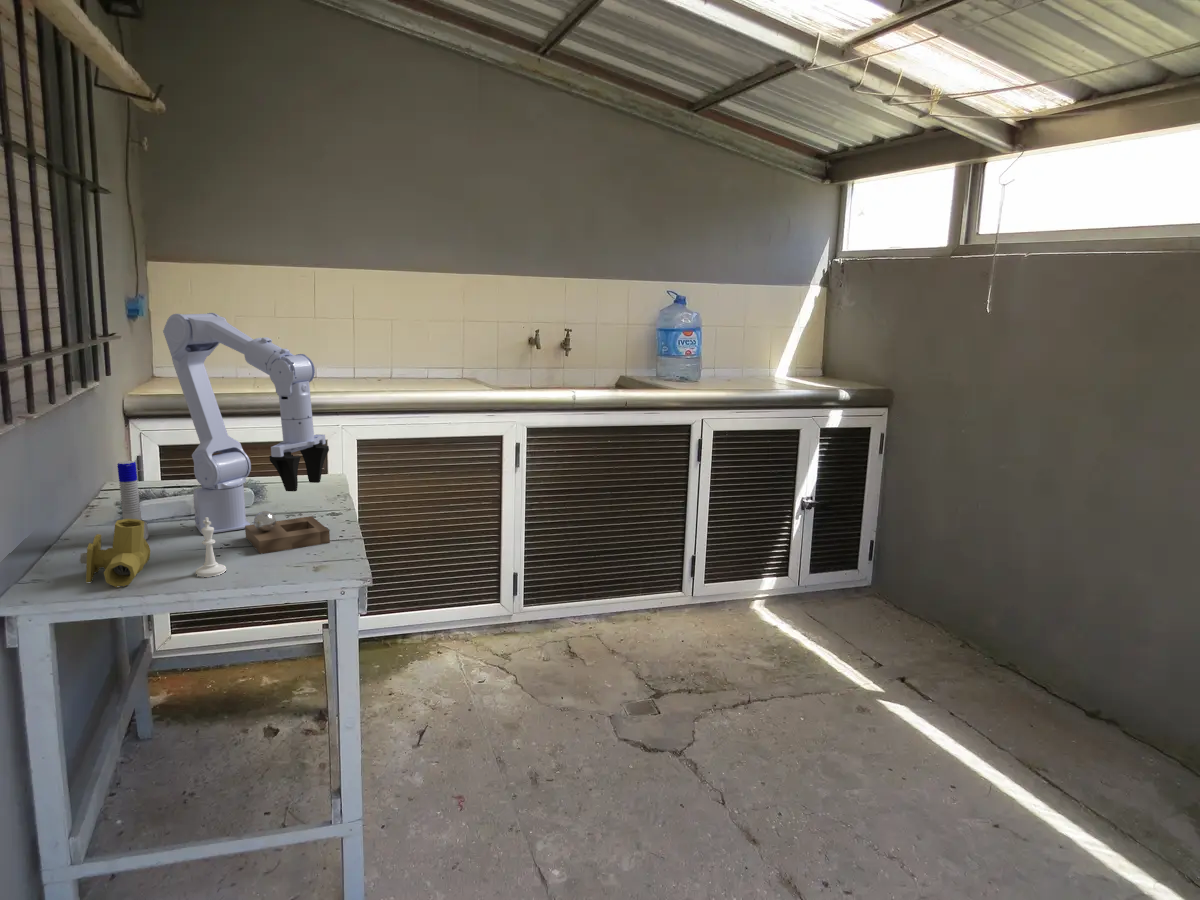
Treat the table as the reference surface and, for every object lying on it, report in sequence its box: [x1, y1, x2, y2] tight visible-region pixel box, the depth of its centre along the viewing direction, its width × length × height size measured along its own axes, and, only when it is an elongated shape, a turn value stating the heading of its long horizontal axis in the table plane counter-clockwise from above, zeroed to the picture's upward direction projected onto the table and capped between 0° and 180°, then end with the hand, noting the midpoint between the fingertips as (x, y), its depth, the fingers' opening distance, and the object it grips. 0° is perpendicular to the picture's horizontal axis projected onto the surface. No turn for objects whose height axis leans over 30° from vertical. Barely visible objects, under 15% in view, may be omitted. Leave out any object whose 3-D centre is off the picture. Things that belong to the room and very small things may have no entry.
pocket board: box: [244, 515, 331, 555], centre depth 161 cm, size 13×12×2 cm
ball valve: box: [79, 518, 151, 588], centre depth 139 cm, size 13×10×10 cm
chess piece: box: [195, 517, 227, 578], centre depth 141 cm, size 5×5×10 cm
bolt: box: [117, 460, 149, 541], centre depth 158 cm, size 16×5×5 cm
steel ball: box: [253, 510, 277, 532], centre depth 158 cm, size 4×4×4 cm
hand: (303, 486), depth 159 cm, fingers open, 7 cm apart
